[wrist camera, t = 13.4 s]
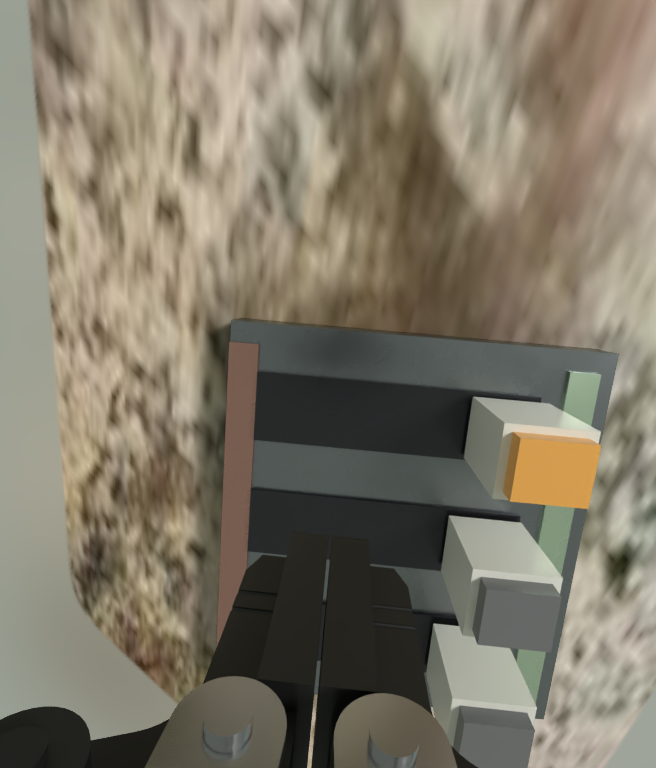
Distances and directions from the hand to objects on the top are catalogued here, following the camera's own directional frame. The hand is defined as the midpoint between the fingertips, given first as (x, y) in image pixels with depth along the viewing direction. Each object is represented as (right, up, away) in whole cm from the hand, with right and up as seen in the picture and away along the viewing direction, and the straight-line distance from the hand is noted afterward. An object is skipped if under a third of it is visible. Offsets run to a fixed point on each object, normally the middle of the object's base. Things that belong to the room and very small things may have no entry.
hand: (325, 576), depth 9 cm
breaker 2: (+7, -10, +15) cm, 19 cm away
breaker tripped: (+8, +2, +13) cm, 15 cm away
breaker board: (+4, -3, +16) cm, 17 cm away
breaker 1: (+8, -4, +14) cm, 16 cm away
